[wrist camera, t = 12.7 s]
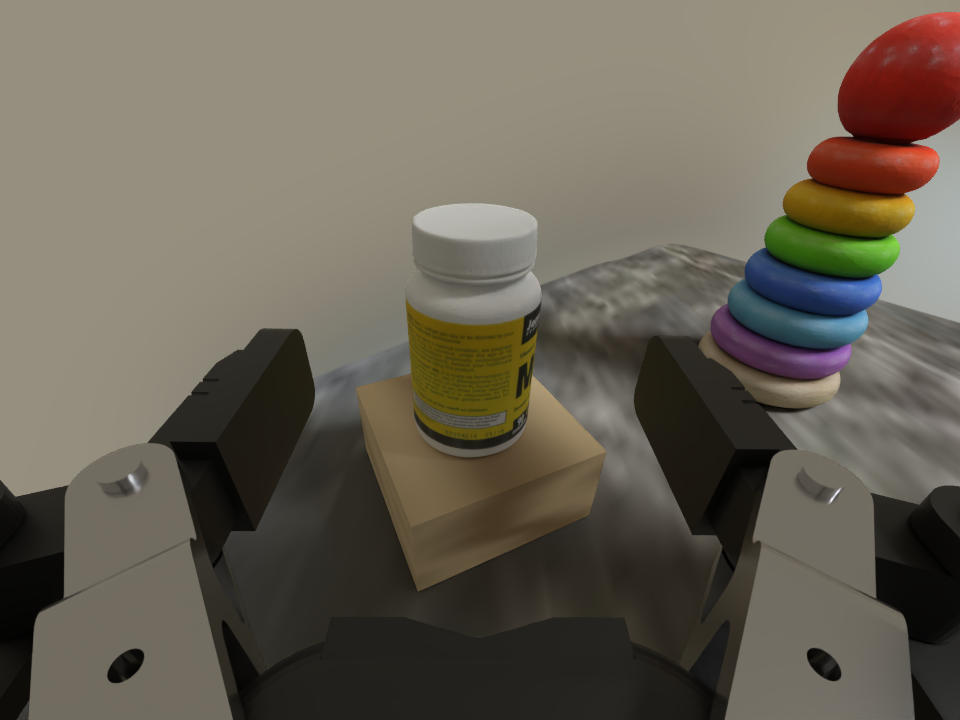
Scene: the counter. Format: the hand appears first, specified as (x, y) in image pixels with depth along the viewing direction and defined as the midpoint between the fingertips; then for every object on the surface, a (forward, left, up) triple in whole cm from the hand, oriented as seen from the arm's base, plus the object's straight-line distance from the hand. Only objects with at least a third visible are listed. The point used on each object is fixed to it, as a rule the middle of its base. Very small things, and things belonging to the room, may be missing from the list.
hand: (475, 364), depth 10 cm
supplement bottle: (-2, -5, -7) cm, 9 cm away
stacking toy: (-23, -5, -11) cm, 26 cm away
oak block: (-2, -5, -11) cm, 12 cm away
